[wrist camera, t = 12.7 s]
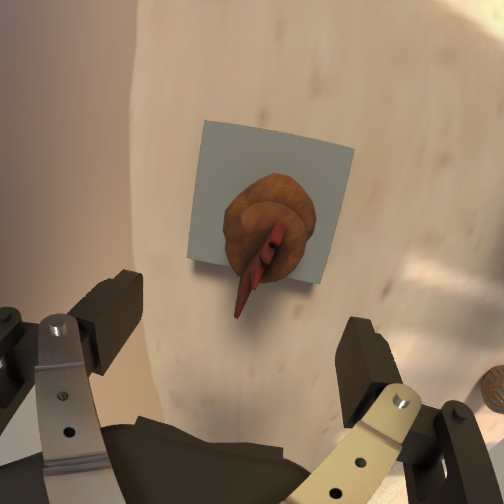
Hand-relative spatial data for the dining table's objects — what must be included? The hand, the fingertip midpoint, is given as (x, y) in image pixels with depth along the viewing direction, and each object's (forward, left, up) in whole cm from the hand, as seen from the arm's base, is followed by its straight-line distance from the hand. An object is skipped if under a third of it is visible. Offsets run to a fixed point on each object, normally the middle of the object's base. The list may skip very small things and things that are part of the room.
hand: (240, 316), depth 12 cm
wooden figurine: (0, 0, -18) cm, 18 cm away
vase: (-41, +19, -21) cm, 50 cm away
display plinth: (0, 0, -20) cm, 20 cm away
